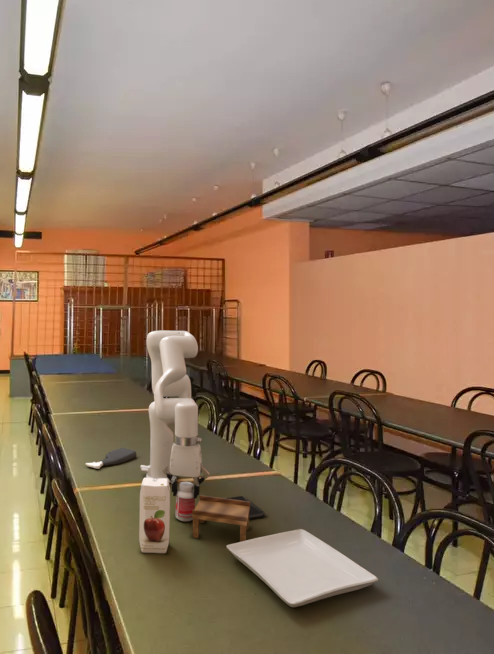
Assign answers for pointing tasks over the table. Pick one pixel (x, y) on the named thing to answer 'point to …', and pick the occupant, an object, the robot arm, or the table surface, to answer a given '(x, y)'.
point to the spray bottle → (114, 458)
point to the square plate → (301, 567)
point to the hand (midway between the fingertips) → (185, 495)
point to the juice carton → (154, 515)
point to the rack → (221, 513)
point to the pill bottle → (185, 501)
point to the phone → (251, 508)
